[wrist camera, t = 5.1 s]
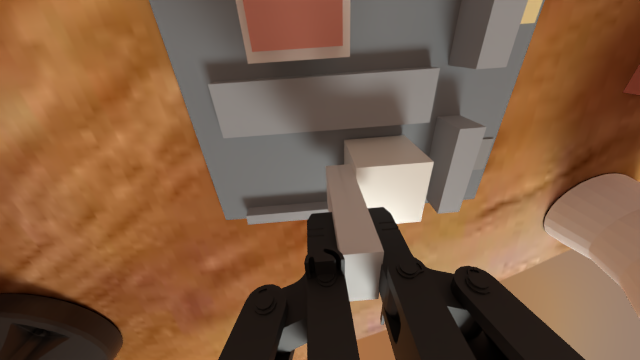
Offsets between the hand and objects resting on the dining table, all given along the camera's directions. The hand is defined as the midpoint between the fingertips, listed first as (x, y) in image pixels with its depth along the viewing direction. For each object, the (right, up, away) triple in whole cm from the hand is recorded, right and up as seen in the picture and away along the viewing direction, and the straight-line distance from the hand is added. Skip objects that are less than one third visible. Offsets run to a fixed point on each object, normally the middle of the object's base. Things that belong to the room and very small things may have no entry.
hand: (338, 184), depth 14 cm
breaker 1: (-2, +9, -3) cm, 9 cm away
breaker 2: (+3, +1, +2) cm, 4 cm away
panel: (+2, +6, +1) cm, 6 cm away
